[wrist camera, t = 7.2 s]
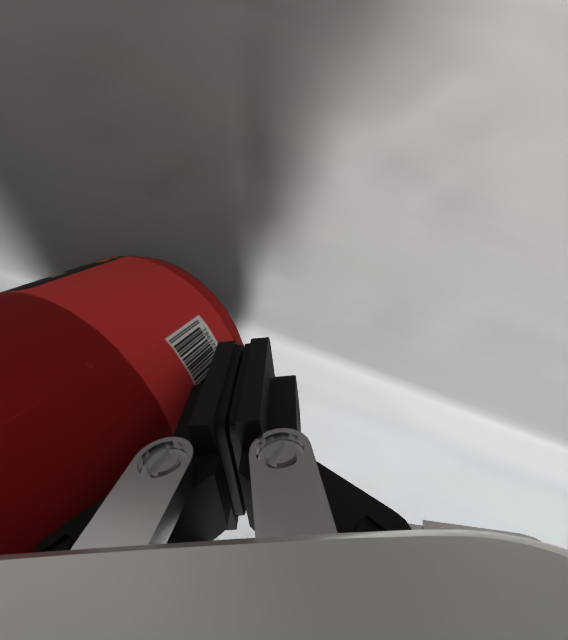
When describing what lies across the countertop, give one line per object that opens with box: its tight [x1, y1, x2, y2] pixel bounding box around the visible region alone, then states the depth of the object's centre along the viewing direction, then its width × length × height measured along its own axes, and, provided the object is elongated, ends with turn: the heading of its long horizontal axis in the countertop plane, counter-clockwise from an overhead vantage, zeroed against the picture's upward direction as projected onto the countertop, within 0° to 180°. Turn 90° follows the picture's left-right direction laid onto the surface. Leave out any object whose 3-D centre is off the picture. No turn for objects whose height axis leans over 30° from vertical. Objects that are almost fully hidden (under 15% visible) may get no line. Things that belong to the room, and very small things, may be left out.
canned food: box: [0, 256, 243, 555], centre depth 10 cm, size 8×8×11 cm
